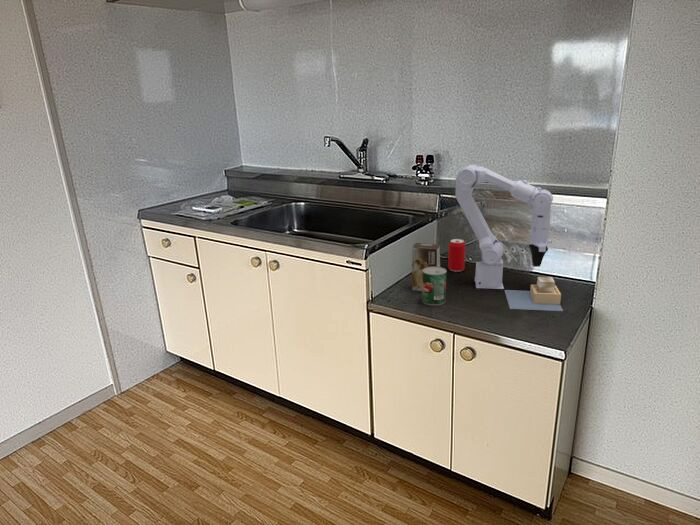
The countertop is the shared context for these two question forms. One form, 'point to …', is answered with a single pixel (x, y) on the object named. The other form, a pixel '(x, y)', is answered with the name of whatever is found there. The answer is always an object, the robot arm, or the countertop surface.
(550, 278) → the cream block
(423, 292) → the canned tomato
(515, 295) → the board
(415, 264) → the coffee box
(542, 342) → the countertop surface
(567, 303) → the countertop surface
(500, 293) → the countertop surface
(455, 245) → the beverage can
